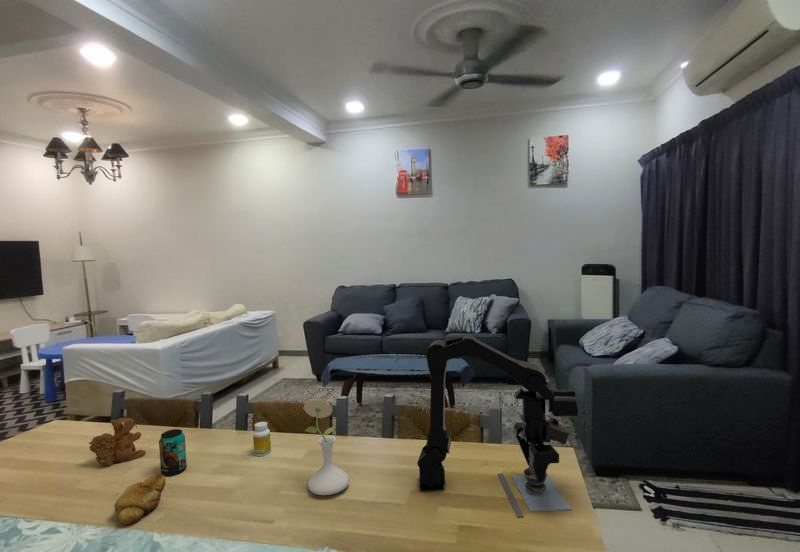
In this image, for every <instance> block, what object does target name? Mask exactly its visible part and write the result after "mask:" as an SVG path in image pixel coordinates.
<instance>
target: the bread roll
mask: <svg viewBox="0 0 800 552" xmlns="http://www.w3.org/2000/svg"><path fill="white" fill-rule="evenodd" d="M166 482H167V481H166V476H165V475H163V474H162V473H161V472H157V473H155V474H151V475H149V477H147V478H145V479H144V480H143V481H139V482H138V481H137V482H136V483H133V484H131V485H129V486H127V487H126V489H125V490H124V491H123V493H122V494H121V495H119V496H118V497H117V499H116V500H115V503H114V508H115V509H114V513H115V514H116V515H117V519H118V521H119V522H120V523H121V524H123V525H130V524H133V523H136V522H138V521H140V519H142V517H143V516H144V515H145V514H147V513H149V512H151V511H153V510H154V509H155V508H156V507H157V506H158V505H159V503H160V501H161V496H162V493H163V491H164V489H165V487H166Z"/></svg>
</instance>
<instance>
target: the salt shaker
mask: <svg viewBox="0 0 800 552" xmlns="http://www.w3.org/2000/svg"><path fill="white" fill-rule="evenodd" d="M532 446H533V445H531V446H530V447H529V449H530V448H531V447H532ZM529 456H530V454H529ZM528 460H529V466H528V467H527V468H525V469H524V470H523V476H525V478H526V480H527V481H528V482H526V483H525V487H526V488H527V489H528V490H530V491H533V492H543V491H545V490H546V486H545V484H543V483H544V482H545V480H546V477H547V475H548V472H546V473H545V476H544V479H543V482H538V480H537V477H536V475H535V472H534V469H533V467H532V464H531V461H530V459H529V457H528Z"/></svg>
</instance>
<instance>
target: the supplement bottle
mask: <svg viewBox="0 0 800 552" xmlns="http://www.w3.org/2000/svg"><path fill="white" fill-rule="evenodd" d="M252 437H253V438H252V441H253V442H252V443H253V454H254V455H255V456H257V457H264V456H267V455H269V454H270V453H271V451H272V447H271V446H272V445H271V444H272V441H271V430H270V429H269V428H268V422H267V421H258V422H256V423H254V430H253V432H252Z"/></svg>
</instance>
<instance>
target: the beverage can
mask: <svg viewBox="0 0 800 552" xmlns="http://www.w3.org/2000/svg"><path fill="white" fill-rule="evenodd" d="M158 449H159V459H160V460H159V461H160V474H162V475H163V476H164V477H171V476H172V477H173V476H176V475H179V474H182V473H183V472H184V471H185V470H186V468H187V466H188V464H187V463H188V462H187V449H186V435H185V434H184V433H183V430H182V429H181V428H177V429H169V430H167V431H163V432H162V433H161V434H160V438H159V441H158Z"/></svg>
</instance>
